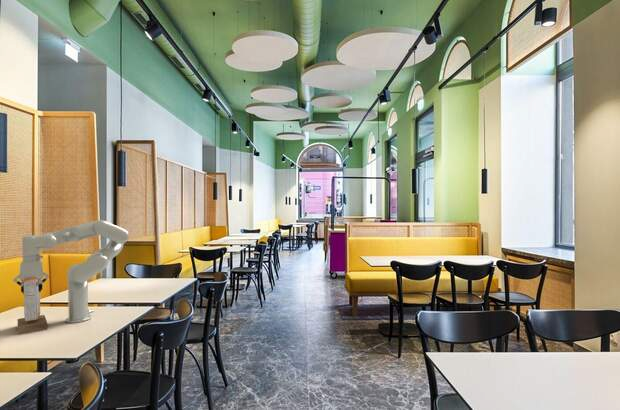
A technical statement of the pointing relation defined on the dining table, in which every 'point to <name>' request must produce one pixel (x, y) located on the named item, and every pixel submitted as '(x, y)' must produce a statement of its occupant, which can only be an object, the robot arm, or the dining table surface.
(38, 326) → the walnut block
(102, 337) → the dining table surface
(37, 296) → the cracker box
